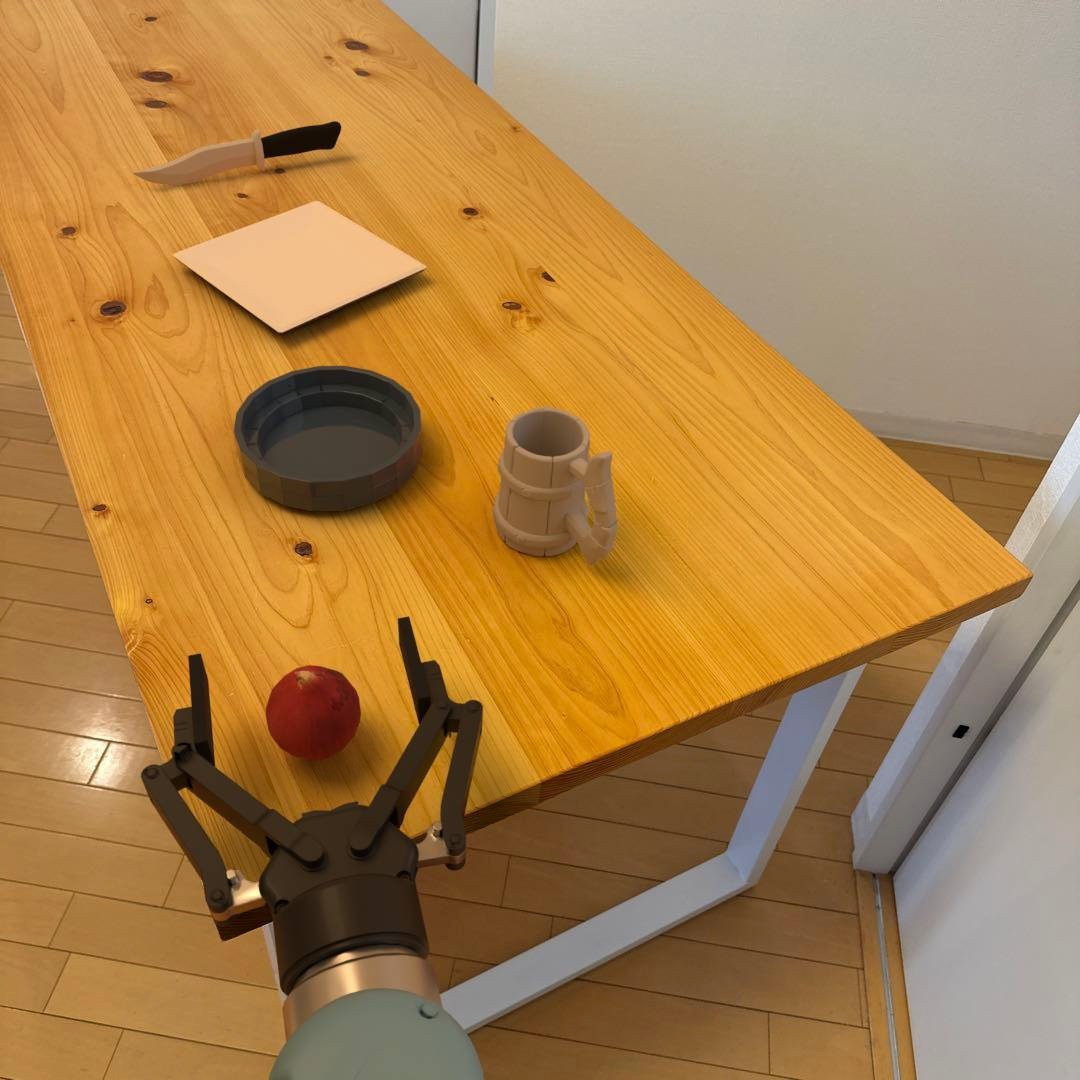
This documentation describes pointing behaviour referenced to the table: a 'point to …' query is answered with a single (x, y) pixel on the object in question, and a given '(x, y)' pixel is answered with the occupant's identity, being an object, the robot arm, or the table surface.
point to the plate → (299, 265)
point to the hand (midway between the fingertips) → (303, 648)
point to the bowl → (328, 437)
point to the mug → (554, 487)
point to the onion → (313, 712)
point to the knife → (242, 154)
